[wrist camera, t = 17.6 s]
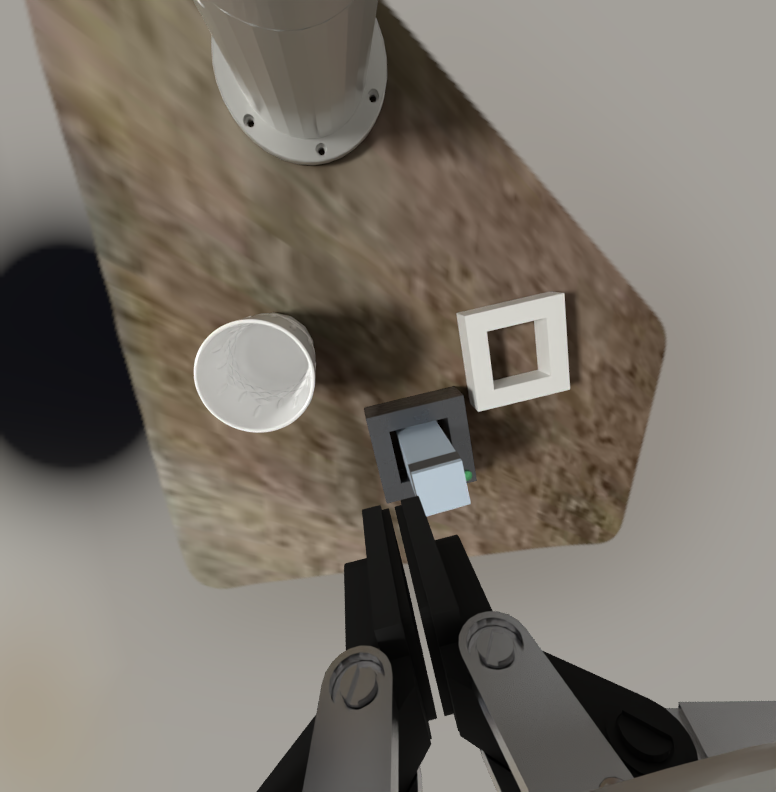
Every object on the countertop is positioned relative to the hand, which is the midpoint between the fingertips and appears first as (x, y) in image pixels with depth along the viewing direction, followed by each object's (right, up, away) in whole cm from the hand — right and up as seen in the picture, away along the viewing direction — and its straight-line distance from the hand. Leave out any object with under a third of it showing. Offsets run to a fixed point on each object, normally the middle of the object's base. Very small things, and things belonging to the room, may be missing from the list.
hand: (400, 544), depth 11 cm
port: (+3, 0, +29) cm, 29 cm away
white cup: (-10, +9, +25) cm, 28 cm away
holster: (+11, +9, +27) cm, 31 cm away
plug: (+3, 0, +29) cm, 29 cm away
